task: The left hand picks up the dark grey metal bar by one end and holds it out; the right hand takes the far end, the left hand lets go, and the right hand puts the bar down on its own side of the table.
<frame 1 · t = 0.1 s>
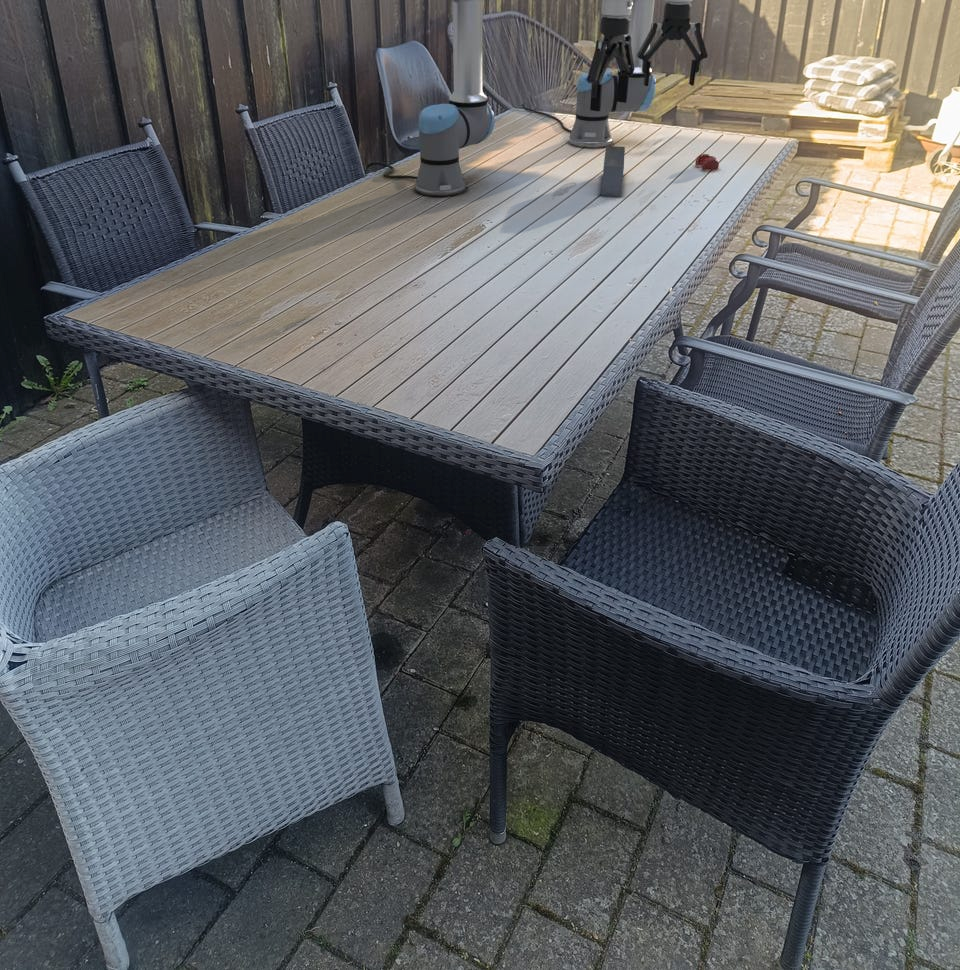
left hand: (608, 106, 226), 28 cm above the table, tool pointing down, fingers open, 13 cm apart
right hand: (668, 85, 249), 28 cm above the table, tool pointing down, fingers open, 13 cm apart
bar: (612, 185, 262), on the table
dental model: (706, 168, 278), on the table
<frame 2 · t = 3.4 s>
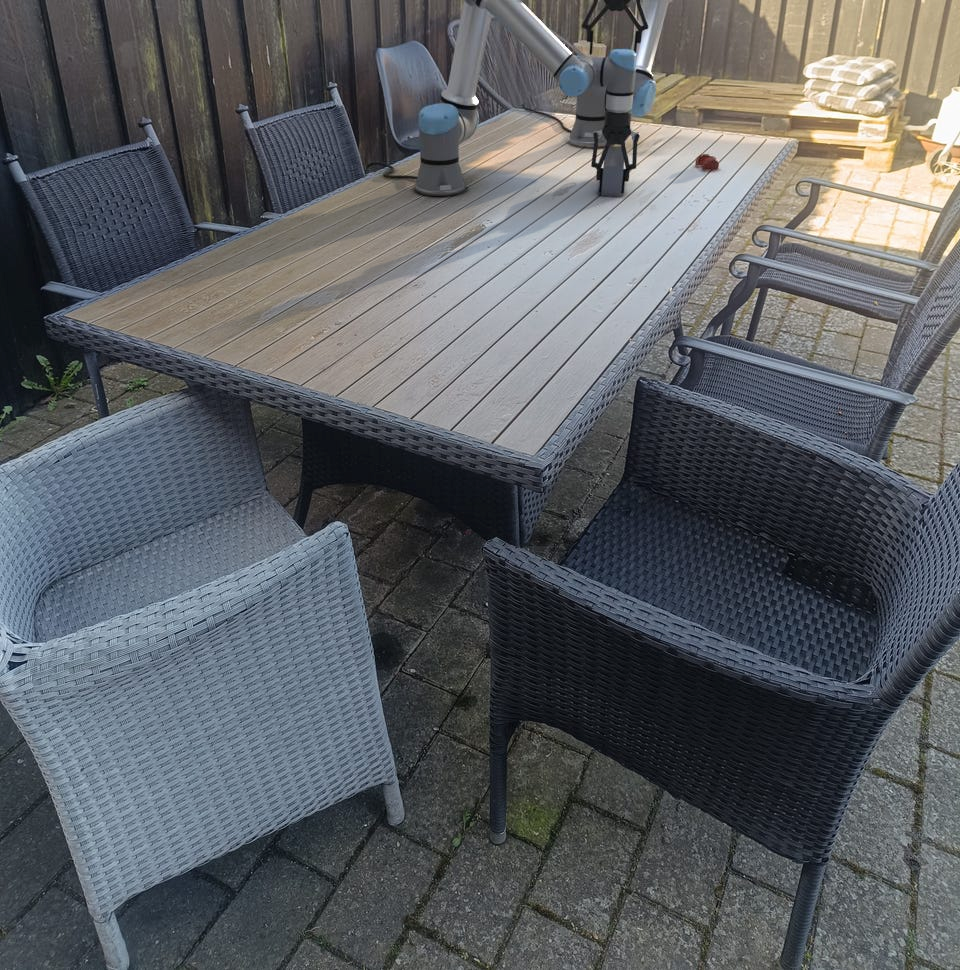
left hand: (611, 191, 255), 1 cm above the table, tool pointing down, fingers closed on bar, 6 cm apart
right hand: (612, 54, 263), 33 cm above the table, tool pointing down, fingers open, 13 cm apart
bar: (611, 185, 262), on the table, touching left hand
everything else where it was.
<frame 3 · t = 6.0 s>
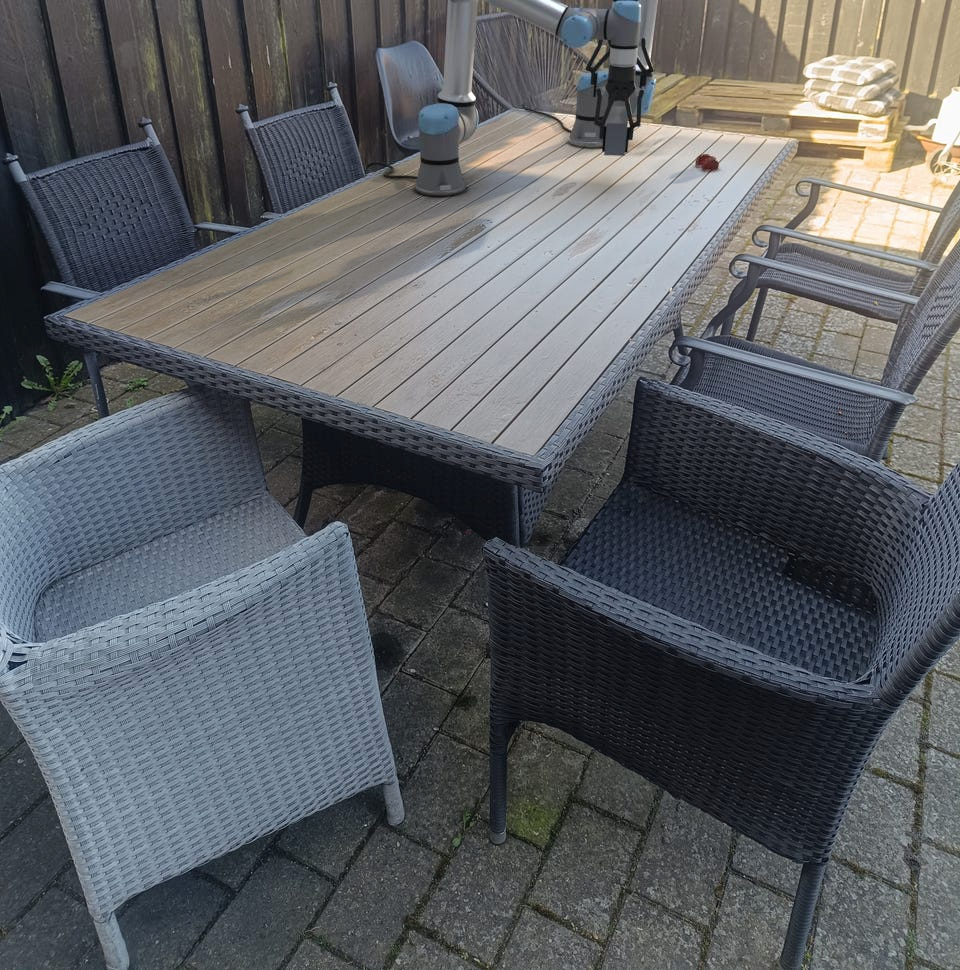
left hand: (614, 150, 248), 12 cm above the table, tool pointing down, fingers closed on bar, 6 cm apart
right hand: (616, 97, 258), 23 cm above the table, tool pointing down, fingers open, 13 cm apart
bar: (615, 145, 255), point 12 cm above the table, touching left hand
everything else where it was.
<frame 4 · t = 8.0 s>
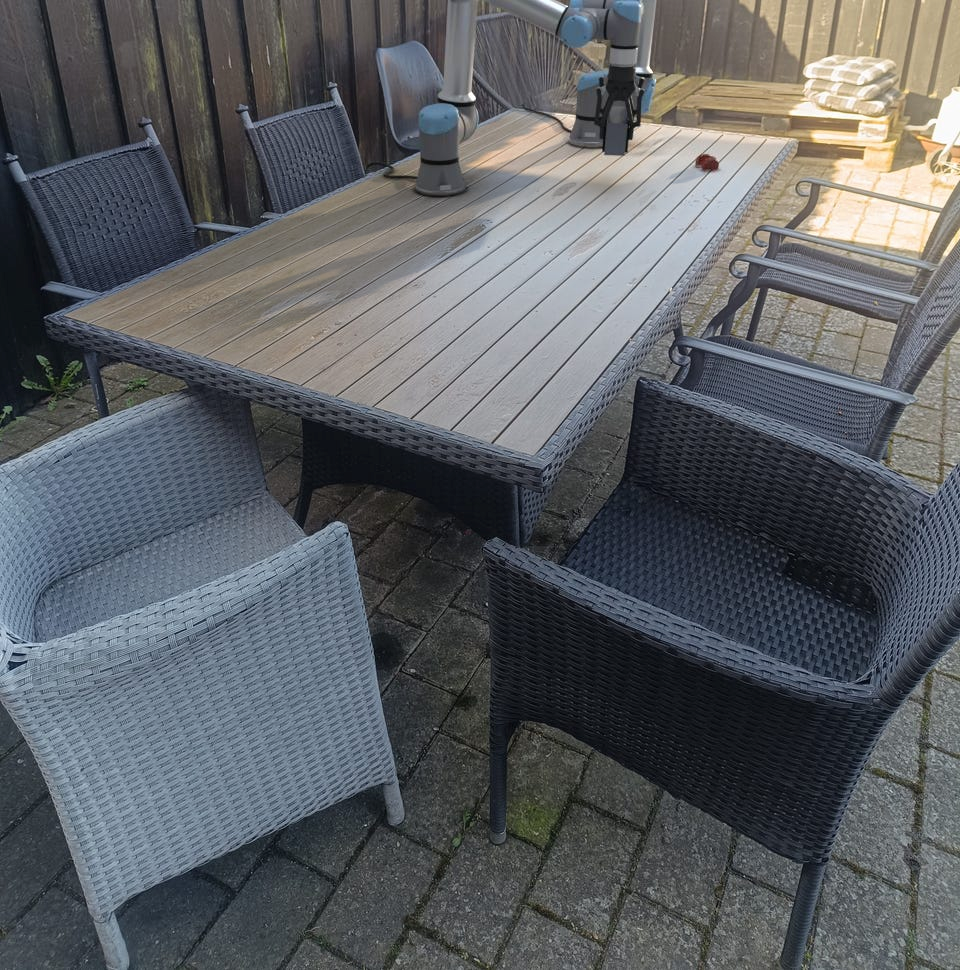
left hand: (614, 150, 248), 12 cm above the table, tool pointing down, fingers closed on bar, 6 cm apart
right hand: (616, 137, 262), 12 cm above the table, tool pointing down, fingers closed on bar, 6 cm apart
bar: (615, 145, 255), point 12 cm above the table, touching left hand, right hand
everything else where it was.
when the left hand's fingers open (12 cm above the table, at t = 8.8 s): bar stays where it is, held by the right hand.
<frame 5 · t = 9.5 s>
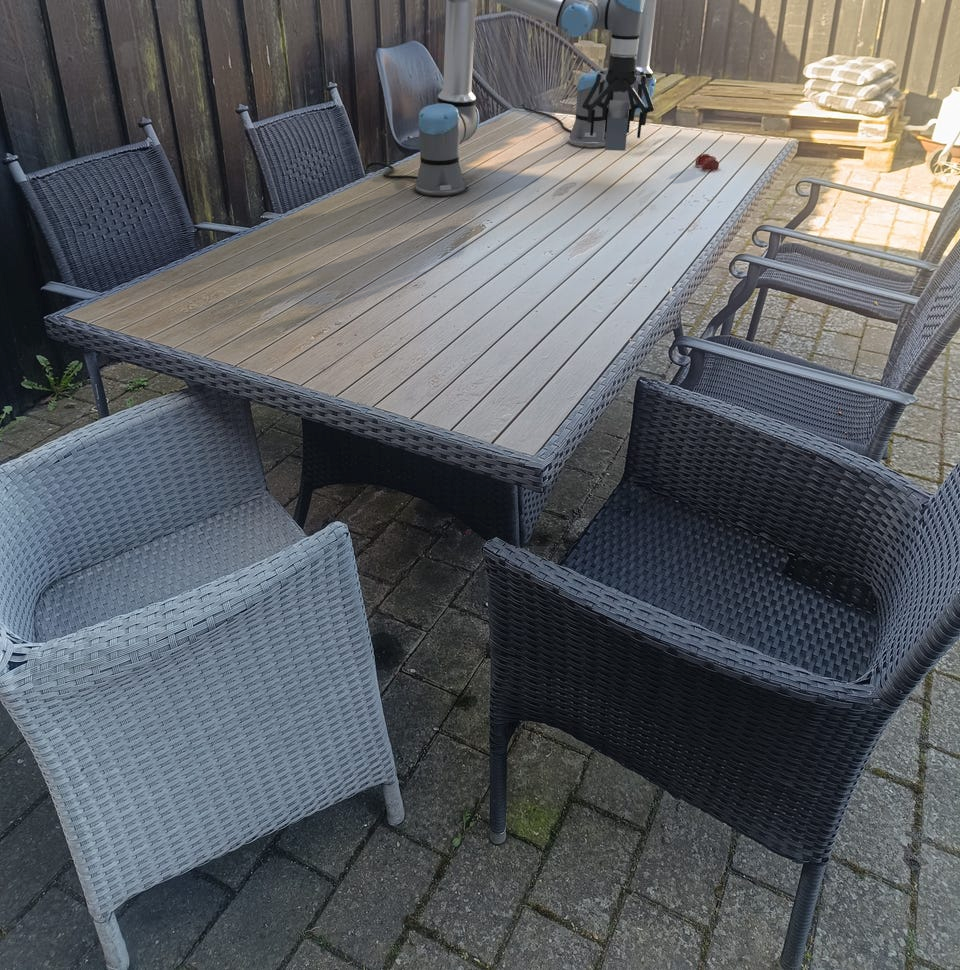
left hand: (614, 135, 245), 17 cm above the table, tool pointing down, fingers open, 13 cm apart
right hand: (616, 131, 261), 14 cm above the table, tool pointing down, fingers closed on bar, 6 cm apart
bar: (615, 140, 255), point 13 cm above the table, touching right hand
everything else where it was.
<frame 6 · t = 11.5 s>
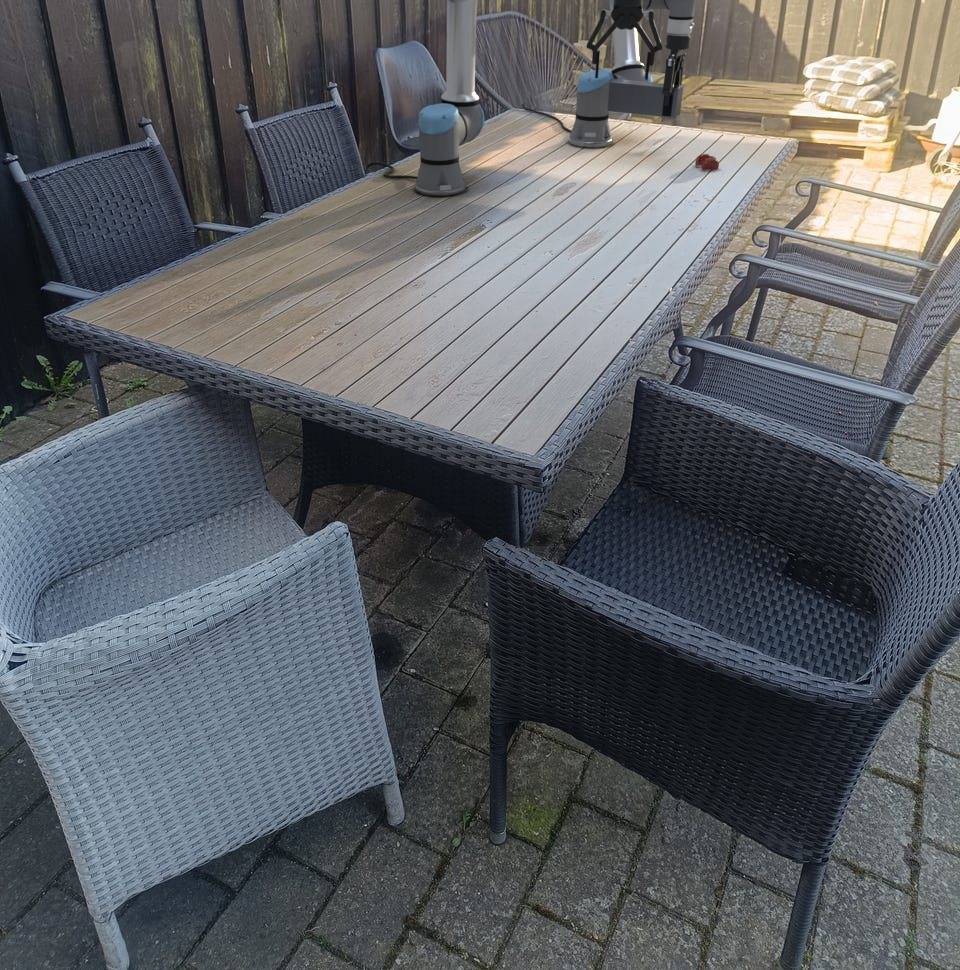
left hand: (621, 78, 232), 33 cm above the table, tool pointing down, fingers open, 13 cm apart
right hand: (669, 113, 275), 15 cm above the table, tool pointing down, fingers closed on bar, 6 cm apart
bar: (643, 112, 279), point 15 cm above the table, touching right hand
everything else where it was.
when the right hand's fingers open (2 cm above the table, at t = 15.1 s): bar drops 2 cm, on the table.
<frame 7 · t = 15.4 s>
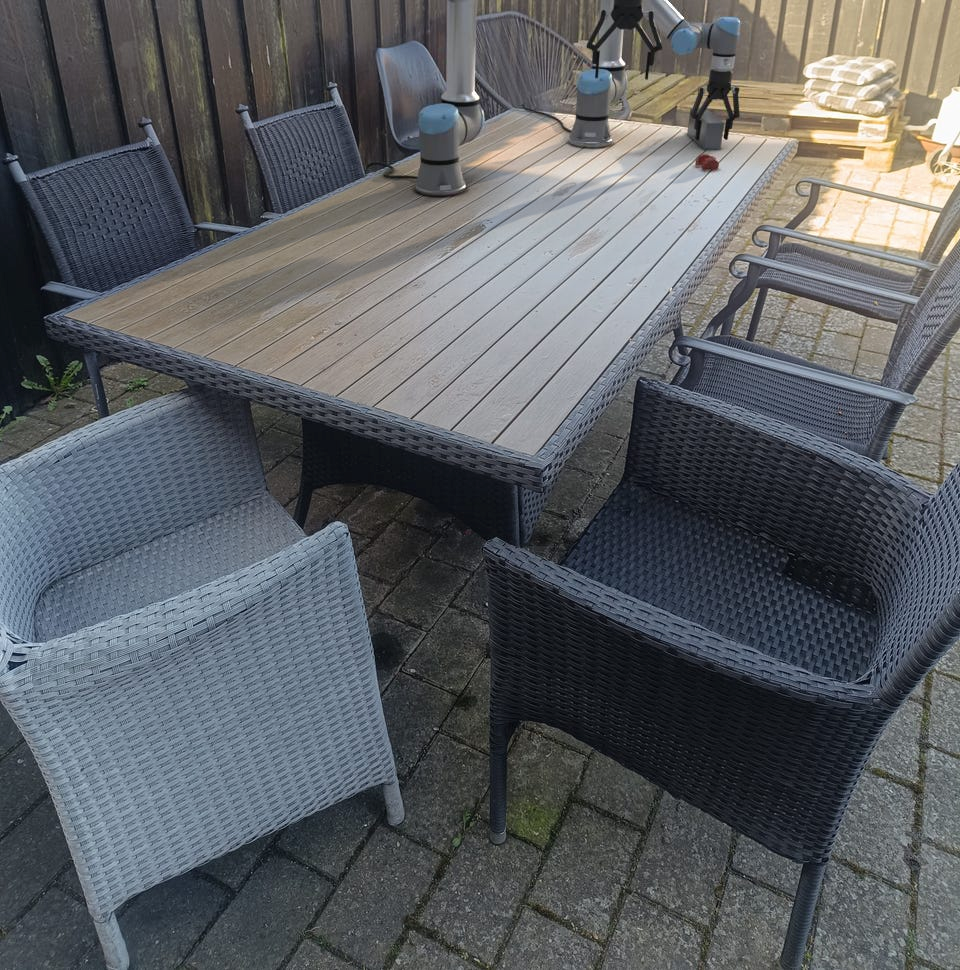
left hand: (621, 78, 232), 33 cm above the table, tool pointing down, fingers open, 13 cm apart
right hand: (711, 139, 298), 3 cm above the table, tool pointing down, fingers open, 9 cm apart
bar: (703, 141, 306), on the table
everything else where it was.
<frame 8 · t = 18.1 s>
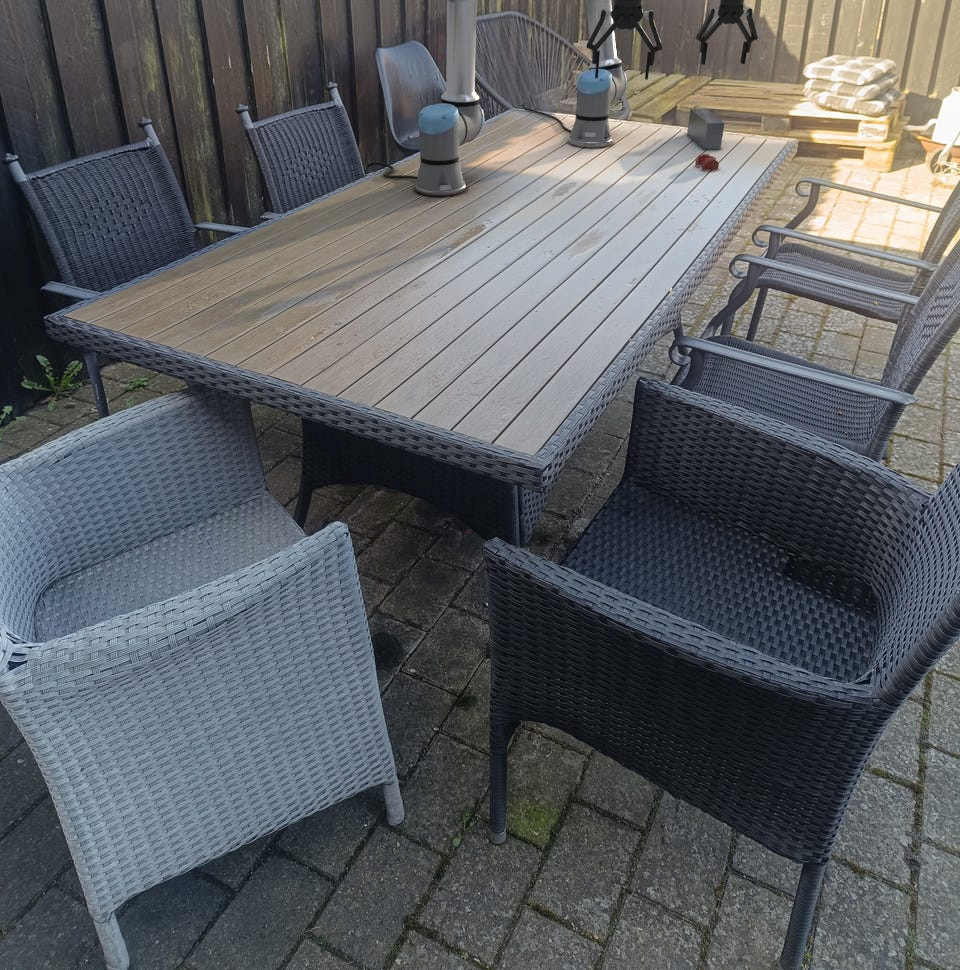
left hand: (621, 78, 232), 33 cm above the table, tool pointing down, fingers open, 13 cm apart
right hand: (722, 63, 284), 27 cm above the table, tool pointing down, fingers open, 13 cm apart
nothing on the table moved.
at the end: bar inside the target area (8.6 cm from its centre), on the table; the left hand is holding nothing; the right hand is holding nothing; bar at rest at the end (0.0 cm/s) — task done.
